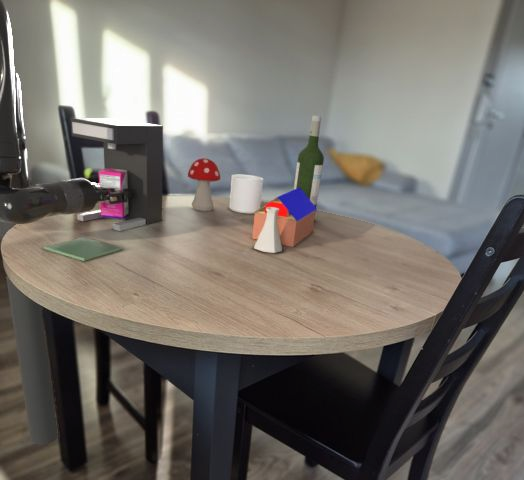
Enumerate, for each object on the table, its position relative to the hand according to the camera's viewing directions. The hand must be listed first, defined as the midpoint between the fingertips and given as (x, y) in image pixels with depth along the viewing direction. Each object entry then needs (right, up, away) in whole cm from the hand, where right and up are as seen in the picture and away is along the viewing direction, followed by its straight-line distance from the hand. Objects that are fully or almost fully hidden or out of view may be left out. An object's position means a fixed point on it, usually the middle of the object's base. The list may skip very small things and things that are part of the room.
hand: (119, 189), depth 125 cm
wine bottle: (+50, 0, +29) cm, 58 cm away
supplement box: (-2, -7, +1) cm, 7 cm away
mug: (+32, +4, +33) cm, 46 cm away
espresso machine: (-1, -7, +4) cm, 8 cm away
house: (+43, -10, +9) cm, 45 cm away
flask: (+39, -17, -5) cm, 42 cm away
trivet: (-1, -20, -21) cm, 29 cm away
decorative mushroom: (+18, +3, +27) cm, 32 cm away
